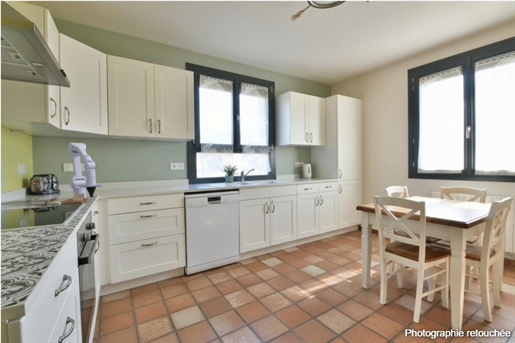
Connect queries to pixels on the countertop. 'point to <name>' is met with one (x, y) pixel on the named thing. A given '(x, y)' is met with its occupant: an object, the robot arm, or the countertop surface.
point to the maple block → (78, 197)
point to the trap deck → (64, 202)
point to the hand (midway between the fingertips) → (91, 197)
